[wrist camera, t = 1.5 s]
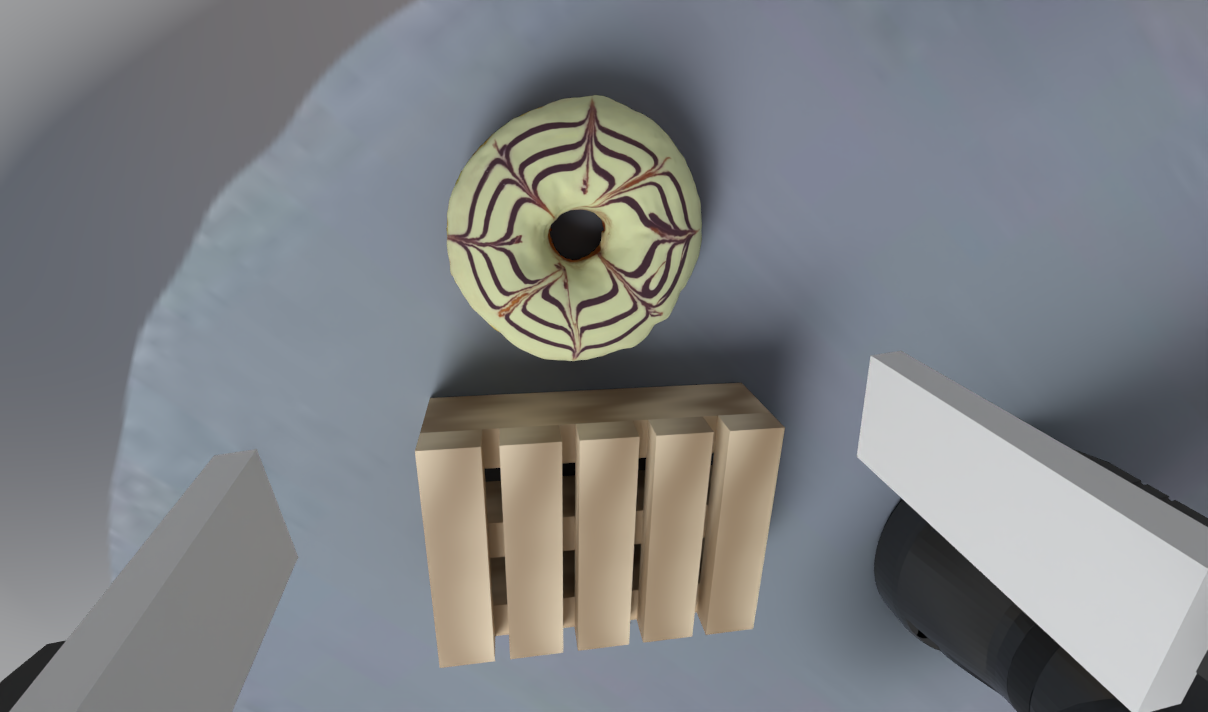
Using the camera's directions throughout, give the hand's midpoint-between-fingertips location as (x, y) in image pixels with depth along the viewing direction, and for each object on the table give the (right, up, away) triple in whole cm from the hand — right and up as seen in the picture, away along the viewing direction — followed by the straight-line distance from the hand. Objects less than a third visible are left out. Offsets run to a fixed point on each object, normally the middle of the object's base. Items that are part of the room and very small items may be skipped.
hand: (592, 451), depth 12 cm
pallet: (0, -5, +18) cm, 19 cm away
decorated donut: (-1, +8, +14) cm, 16 cm away
